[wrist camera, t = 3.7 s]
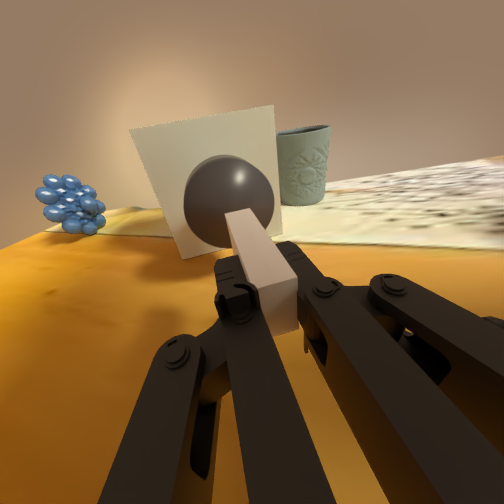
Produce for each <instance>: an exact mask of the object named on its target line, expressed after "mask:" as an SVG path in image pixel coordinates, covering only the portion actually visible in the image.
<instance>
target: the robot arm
mask: <svg viewBox="0 0 504 504" xmlns="http://www.w3.org/2000/svg"><path fill="white" fill-rule="evenodd" d="M225 218H226V222H227V227H228V231H229V235H230V240H231V244H232V249H233V253H234V256H230V257H226V258H222V259H218V260H217V261H216V264H215V266H214V272H215V278H216V284H217V290H218V292H217V294H216V295H215V300H214V303H215V306H216V309H217V312H218V315H219V318H218V319H217V321H216V322H215V324H214V325H213V326H212V327H210V328H209V329H208V330H206V331H205V332H203V333H202V334H200V335H198V336H197V337H194V336H192V335H187V334H182V335H178V336H175V337H173V338H171V339H169V340H168V341H166V342H165V343H164V344H163V345H162V346H161V347H160V348H159V349H158V351H157V353H156V355H155V356H154V358H153V361H152V364H151V366H150V369H149V371H148V374H147V377H146V379H145V382H144V384H143V387H142V389H141V392H140V395H139V397H138V400H137V402H136V405H135V408H134V410H133V413H132V415H131V418H130V421H129V423H128V426H127V428H126V431H125V433H124V436H123V439H122V441H121V444H120V446H119V449H118V452H117V454H116V457H115V459H114V462H113V465H112V467H111V470H110V472H109V475H108V477H107V480H106V483H105V485H104V488H103V490H102V493H101V496H100V498H99V501H98V503H97V504H211V502H212V491H213V481H214V470H215V460H216V449H217V439H218V428H219V418H220V408H221V397H222V396H224V395H225V394H226V393H227V392H229V391H230V390H232V396H233V402H234V409H235V415H236V421H237V428H238V434H239V440H240V447H241V453H242V459H243V466H244V472H245V478H246V485H247V491H248V497H249V504H337V503H336V501H335V498H334V496H333V493H332V490H331V488H330V485H329V483H328V480H327V478H326V475H325V472H324V470H323V467H322V465H321V462H320V459H319V457H318V454H317V452H316V449H315V446H314V444H313V441H312V439H311V436H310V433H309V431H308V428H307V426H306V423H305V421H304V418H303V415H302V413H301V410H300V408H299V405H298V402H297V400H296V397H295V395H294V392H293V389H292V387H291V384H290V382H289V379H288V377H287V374H286V371H285V369H284V366H283V364H282V361H281V358H280V356H279V353H278V351H277V348H276V345H275V343H274V340H273V338H272V337H275V336H278V335H281V334H284V333H287V332H291V331H294V330H297V329H299V322H300V324H301V326H302V328H303V330H304V350H305V353H308V348H309V350H310V352H311V353H312V355H313V357H314V359H315V361H316V363H317V365H318V367H319V369H320V371H321V373H322V375H323V376H324V378H325V380H326V382H327V384H328V386H329V388H330V390H331V392H332V394H333V396H334V398H335V399H336V401H337V403H338V405H339V407H340V409H341V411H342V413H343V415H344V417H345V419H346V421H347V422H348V424H349V426H350V428H351V430H352V432H353V434H354V436H355V438H356V440H357V442H358V444H359V445H360V447H361V449H362V451H363V453H364V455H365V457H366V459H367V461H368V463H369V465H370V467H371V469H372V470H373V472H374V474H375V476H376V478H377V480H378V482H379V484H380V486H381V488H382V490H383V492H384V493H385V495H386V497H387V499H388V501H389V503H390V504H504V329H502V328H500V327H498V326H496V325H495V324H493V323H491V322H489V321H487V320H485V319H483V318H481V317H479V316H477V315H475V314H473V313H472V312H470V311H468V310H466V309H464V308H462V307H460V306H458V305H456V304H454V303H452V302H450V301H449V300H447V299H445V298H443V297H441V296H439V295H437V294H435V293H433V292H431V291H429V290H428V289H426V288H424V287H422V286H420V285H418V284H416V283H414V282H412V281H410V280H408V279H406V278H404V277H401V276H399V275H394V274H379V275H376V276H374V277H373V278H372V279H371V281H370V285H369V286H344V285H343V284H341V283H340V282H339V281H338V280H336V279H333V278H330V277H324V275H323V274H322V273H321V272H320V271H319V270H318V269H317V267H316V266H315V265H314V264H313V263H312V262H311V261H310V259H309V258H308V257H307V256H306V255H305V254H304V252H302V250H301V249H300V248H299V247H298V246H297V245H296V244H294V243H292V242H290V241H285V242H282V243H278V244H274V242H273V241H272V239H271V238H270V237H269V235H268V234H267V232H266V231H265V229H264V228H263V226H262V225H261V224H260V222H259V221H258V219H257V218H256V216H255V215H254V213H253V212H252V211H251V209H250V208H247V209H243V210H239V211H234V212H230V213H226V214H225ZM298 320H299V322H298ZM405 328H407V329H408V330H410V331H411V332H412V333H410V332H407V331H405Z"/></svg>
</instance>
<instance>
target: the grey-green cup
mask: <svg viewBox="0 0 504 504" xmlns="http://www.w3.org/2000/svg"><path fill="white" fill-rule="evenodd" d="M330 133H331V125H317V126H309V127H302V128H296V129H290V130H285V131H281V132H277V133H276V146H277V160H278V174H279V188H280V199H281V202H282V203H284V204H286V205H290V206H307V205H312V204H315V203H318V202H320V201H321V200H322V199H323V198H324V194H325V182H326V181H325V177H326V171H327V158H328V153H329V143H330Z"/></svg>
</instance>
